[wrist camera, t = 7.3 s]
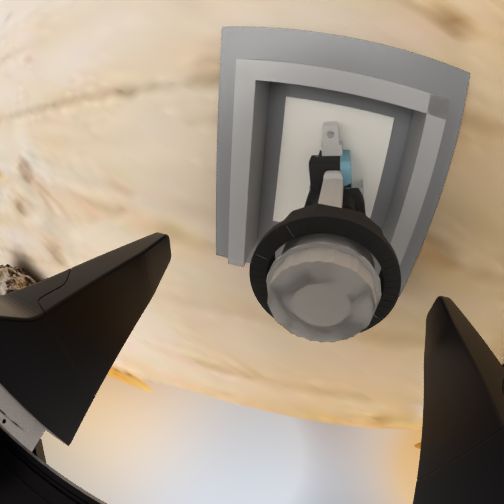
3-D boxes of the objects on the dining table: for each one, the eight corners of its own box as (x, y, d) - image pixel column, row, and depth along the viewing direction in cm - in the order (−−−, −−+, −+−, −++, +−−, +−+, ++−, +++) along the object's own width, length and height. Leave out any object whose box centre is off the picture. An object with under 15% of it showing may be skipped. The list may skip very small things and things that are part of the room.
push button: (284, 122, 16) (215, 191, 8) (380, 119, 14) (418, 188, 7) (297, 225, 20) (254, 350, 12) (381, 226, 18) (390, 359, 10)
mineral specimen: (92, 330, 39) (54, 381, 31) (37, 317, 46) (6, 354, 38) (36, 238, 32) (-18, 287, 24) (-6, 246, 38) (-45, 282, 30)
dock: (466, 72, 12) (492, 76, 9) (398, 291, 21) (402, 326, 18) (226, 27, 14) (199, 21, 12) (219, 250, 24) (200, 279, 21)
